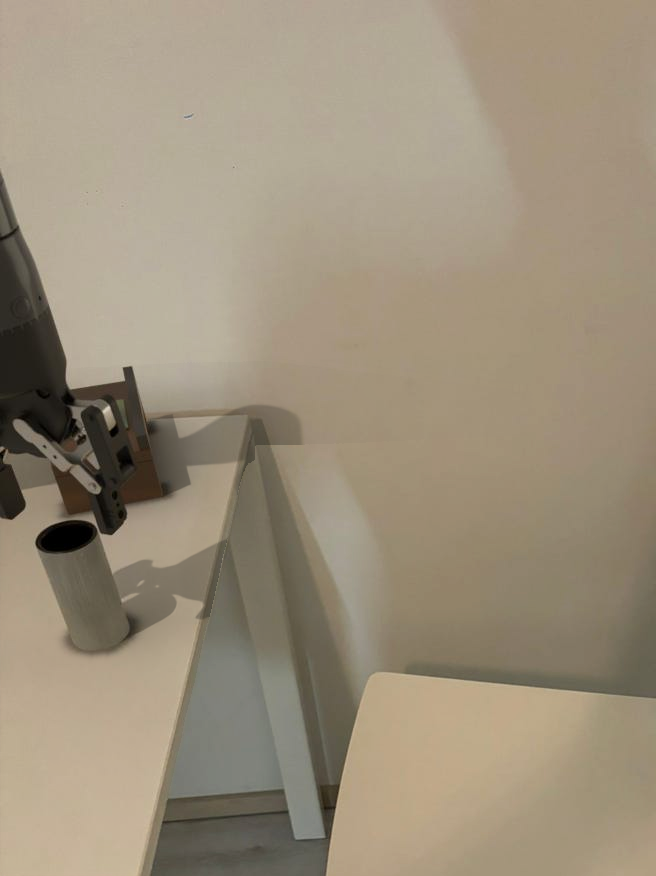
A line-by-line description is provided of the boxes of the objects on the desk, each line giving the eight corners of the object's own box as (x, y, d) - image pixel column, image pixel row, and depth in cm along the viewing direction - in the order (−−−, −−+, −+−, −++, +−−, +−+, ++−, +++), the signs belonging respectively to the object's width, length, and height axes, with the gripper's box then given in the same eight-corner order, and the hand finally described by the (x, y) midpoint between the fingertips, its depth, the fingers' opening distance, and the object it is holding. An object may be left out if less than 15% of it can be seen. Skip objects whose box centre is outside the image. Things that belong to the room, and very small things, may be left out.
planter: (65, 636, 78) (25, 534, 71) (116, 613, 80) (82, 512, 73) (88, 664, 75) (49, 560, 68) (141, 639, 77) (107, 536, 71)
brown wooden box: (64, 443, 102) (42, 379, 97) (148, 429, 104) (132, 365, 100) (70, 520, 91) (45, 452, 86) (164, 502, 93) (146, 434, 88)
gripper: (115, 295, 61) (173, 507, 71) (-69, 277, 64) (13, 483, 74) (45, 341, 55) (119, 564, 66) (-153, 320, 58) (-51, 536, 69)
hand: (63, 521), depth 70 cm, fingers open, 8 cm apart
